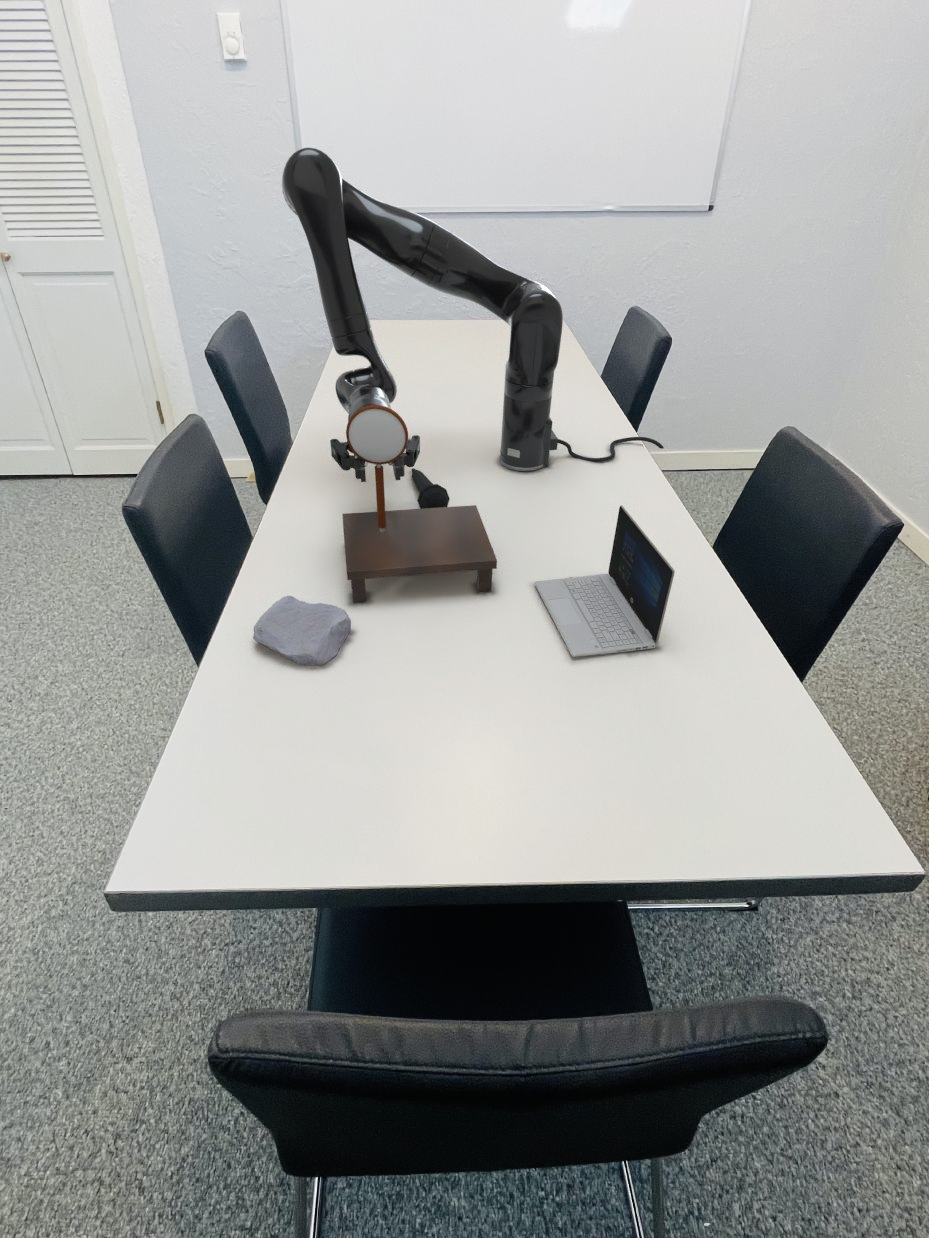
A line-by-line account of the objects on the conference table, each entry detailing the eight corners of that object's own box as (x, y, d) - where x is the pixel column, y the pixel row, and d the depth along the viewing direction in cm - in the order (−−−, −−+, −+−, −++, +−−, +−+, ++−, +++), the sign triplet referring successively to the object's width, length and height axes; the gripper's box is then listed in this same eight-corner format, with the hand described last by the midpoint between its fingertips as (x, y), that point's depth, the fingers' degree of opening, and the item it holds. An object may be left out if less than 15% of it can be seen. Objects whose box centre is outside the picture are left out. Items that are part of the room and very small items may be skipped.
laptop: (533, 585, 110) (540, 511, 103) (609, 577, 113) (622, 504, 105) (571, 660, 97) (583, 581, 89) (657, 648, 99) (676, 570, 91)
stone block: (326, 680, 95) (357, 626, 101) (317, 657, 91) (350, 603, 97) (249, 661, 98) (284, 610, 104) (238, 639, 94) (275, 587, 101)
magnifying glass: (353, 534, 108) (342, 406, 96) (354, 528, 109) (344, 402, 97) (410, 536, 108) (407, 409, 96) (410, 530, 109) (408, 404, 97)
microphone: (405, 487, 142) (428, 525, 125) (394, 462, 138) (417, 497, 122) (430, 477, 142) (456, 513, 125) (420, 450, 139) (446, 484, 122)
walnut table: (474, 536, 122) (476, 505, 118) (495, 593, 109) (497, 560, 105) (345, 545, 119) (342, 513, 115) (349, 605, 105) (346, 571, 102)
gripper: (324, 404, 110) (326, 452, 96) (416, 401, 112) (431, 447, 98) (329, 450, 114) (331, 502, 101) (417, 446, 116) (431, 496, 103)
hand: (380, 475), depth 100 cm, fingers closed on magnifying glass, 4 cm apart
